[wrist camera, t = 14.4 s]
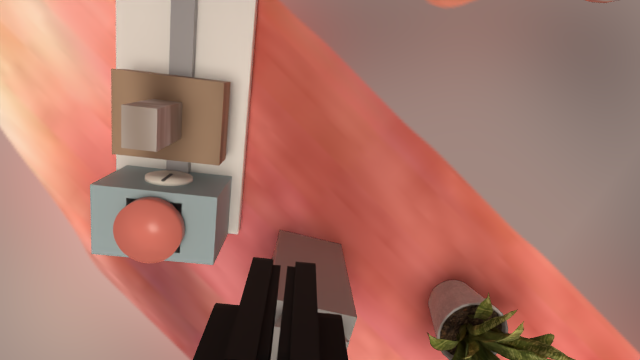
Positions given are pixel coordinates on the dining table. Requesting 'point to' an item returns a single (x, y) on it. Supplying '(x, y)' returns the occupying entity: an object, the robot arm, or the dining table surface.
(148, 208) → the button
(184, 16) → the rail bed
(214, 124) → the carriage
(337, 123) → the dining table surface
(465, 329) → the house plant
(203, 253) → the end cabinet
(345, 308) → the perfume bottle
